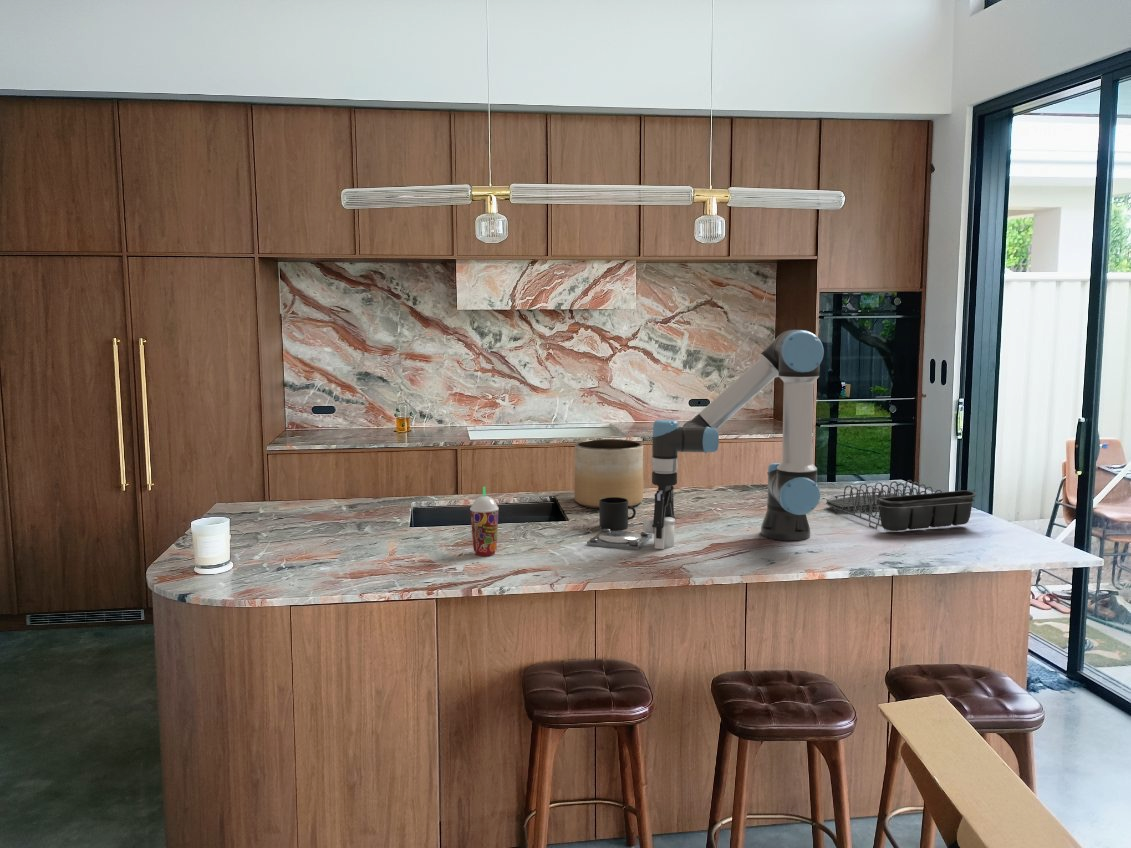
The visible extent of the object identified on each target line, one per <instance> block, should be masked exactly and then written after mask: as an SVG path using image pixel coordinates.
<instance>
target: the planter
mask: <svg viewBox="0 0 1131 848" xmlns="http://www.w3.org/2000/svg"><path fill="white" fill-rule="evenodd" d="M573 489H574V493H573V494H574V501H575V502H577V503H578V504H579V505H581V506H582V507H586V508H591V509H598V510H599V500H600V499H602V498H607V497H619V498H625V499H627V500H628V506H632V507H636V506H637V505H639V504H641V503H642V502H643V499H644V444H643V443H642V442H640V441H637V440H636V441H635V440H631V439H619V438H600V439H599V438H598V439H596V438H595V439H587V440H581V441H578V442H576V443H575V444H574V488H573Z"/></svg>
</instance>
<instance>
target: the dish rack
mask: <svg viewBox="0 0 1131 848" xmlns="http://www.w3.org/2000/svg"><path fill="white" fill-rule="evenodd" d="M909 482H910V483H911V486H910V485H908V483H909ZM893 483H894V484H896V488H895V487H894V486H892V485H893ZM878 484H880V485H881V487H880V488H881V489H880V488H878V487H877V485H878ZM904 484H905V485H904ZM915 484H917V487H918V489H917V488H916V487H914V485H915ZM862 486H865V487H866V488H865V491H864V490H863V489H861V488H862ZM899 486H902V488H903V489H900V488H899ZM922 486H923V487H924V490H922V491H921V489H920V488H921V487H922ZM848 487H850V488H849V489H850V490H849V493H848V494H847V493H846V489H847V488H848ZM884 487H887V491H886V490H884ZM907 487H908V488H909V491H906V490H907ZM869 488H872V490H871V491H869ZM928 488H930V489H931V493H928V492H927V489H928ZM843 489H844V490H843V494H840V495H839V494H838V495H833V498H834V499H830V500H829V499H825V501H826V503H825V505H827V506H828V507H829V511H831V512H832V513H837V511H841V512H844V513H847V514H849V515H851V516H854V517H857V518H859V519H861V520H863V521H867V522H869V523H868V527H870V528H872V529H876V530H877V529H878V526H879V527H882V528H883V529H884V530H885V531H890V532H899V531H900V532H901V531H906V530H907V529H908V530H911V531H912V530H921V529H928V528H930V527H931V528H941V527H950V526H951V525H953V526H961V525H966V524H967V523H969V520H970V518H971V512H972V507H973V503H975V499H974V498H976V496H977V493H976V492H974V491H971V490H953V491H942V490H941V489H937V490H935V491H934V490H933V488H932V487H931V486H930V485H929V486H926V484H923V483H921V484H920V483H919V482H917V481H913V480H911V479H907V481H906V482H905V483H902V482H899V483H898V482H897V481H895V480H892V481H890V484H889V485H888V484H883V483H882V482H880V481H879V482H876V483H875V485H874V487H873V486H872V485H867V483H861V484H860V486H859V489H858V488H857V487H856V486H855V487H852V486H851V485H850V484H849V485H846V486H844V488H843ZM853 489H855V490H856V492H855V493H854V492H853ZM892 489H893V492H891V491H892ZM876 490H877V491H876ZM914 490H915V493H916V494H915V493H914ZM861 491H862V492H861ZM854 495H855V496H854ZM838 497H840V498H838ZM832 508H834V509H835V510H834V509H832ZM867 508H868V509H869V510H868V513H867ZM850 510H853V513H852V512H850ZM873 511H875V513H874V515H873ZM856 512H859V513H860V514H859V515H858V514H856ZM862 514H864V515H865V516H868V519H867V518H864V517H862ZM877 514H878V517H876V516H877ZM871 518H873V519H876V520H877V522H875V521H872V520H871ZM871 523H872V524H875V525H876V526H874V525H871ZM880 523H881V524H880Z"/></svg>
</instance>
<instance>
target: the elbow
mask: <svg viewBox="0 0 1131 848" xmlns="http://www.w3.org/2000/svg"><path fill="white" fill-rule="evenodd" d="M653 520H654V518H644V520H643V525H642V532H644V533H649V534H652V535H653V538H654V539H653V544H654V547H655V527H652V525H653ZM675 523H676V518H675V519H674V518H672V517H665V518H664V527H665V530H664V549H670V548H674V547H675Z"/></svg>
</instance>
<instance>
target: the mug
mask: <svg viewBox="0 0 1131 848" xmlns="http://www.w3.org/2000/svg"><path fill="white" fill-rule="evenodd" d="M598 510H599V516H598V517H599V519H598V520H599V523H598V524H599V525H598V526H599V528H600V529H602V530H603V529H605V528H608V529H611V531H624V530H625V529H627V528H629V520H633V519H634V518H635V517H636V513H637V511H636V508H635V506H633V507H632V506H628V500H627V499H625V498H619V497H607V498H602V499H600V500H599V509H598ZM629 510H632V516H629Z"/></svg>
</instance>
